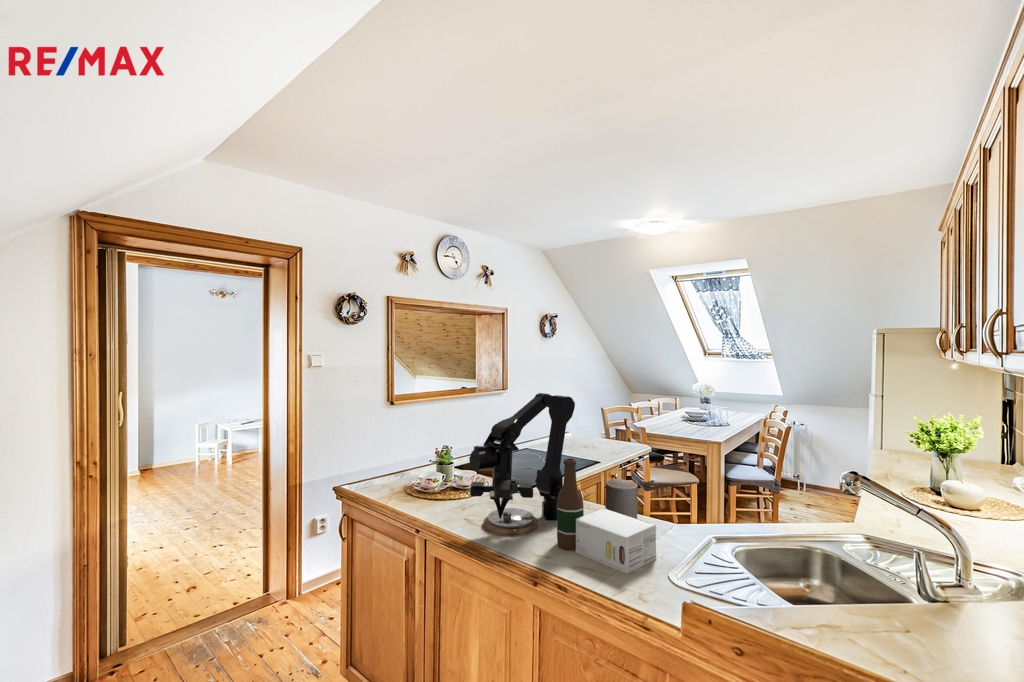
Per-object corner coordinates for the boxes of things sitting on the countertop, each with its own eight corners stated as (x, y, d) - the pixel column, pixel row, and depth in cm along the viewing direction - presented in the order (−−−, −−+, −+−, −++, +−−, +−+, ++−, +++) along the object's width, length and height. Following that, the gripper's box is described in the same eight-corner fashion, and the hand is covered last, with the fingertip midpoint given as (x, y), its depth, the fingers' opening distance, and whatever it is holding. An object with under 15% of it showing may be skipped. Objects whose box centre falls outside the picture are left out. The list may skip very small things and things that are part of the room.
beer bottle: (587, 542, 137) (587, 457, 137) (579, 553, 130) (579, 463, 130) (561, 538, 141) (561, 455, 141) (552, 548, 133) (552, 461, 134)
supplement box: (574, 553, 131) (574, 518, 131) (605, 540, 140) (604, 507, 140) (627, 575, 118) (626, 536, 118) (656, 559, 127) (656, 523, 127)
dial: (494, 511, 159) (494, 499, 159) (536, 514, 156) (536, 501, 157) (483, 526, 145) (483, 513, 146) (529, 530, 143) (529, 516, 143)
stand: (532, 514, 161) (532, 509, 161) (543, 533, 144) (543, 529, 144) (481, 517, 158) (481, 512, 158) (486, 537, 141) (486, 532, 141)
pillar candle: (598, 527, 149) (598, 478, 149) (618, 519, 155) (618, 473, 155) (624, 537, 141) (625, 486, 141) (644, 529, 148) (644, 479, 148)
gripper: (470, 472, 137) (468, 527, 137) (536, 474, 138) (533, 529, 138) (471, 462, 148) (469, 513, 148) (532, 464, 149) (530, 515, 149)
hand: (500, 518), depth 146 cm, fingers closed
